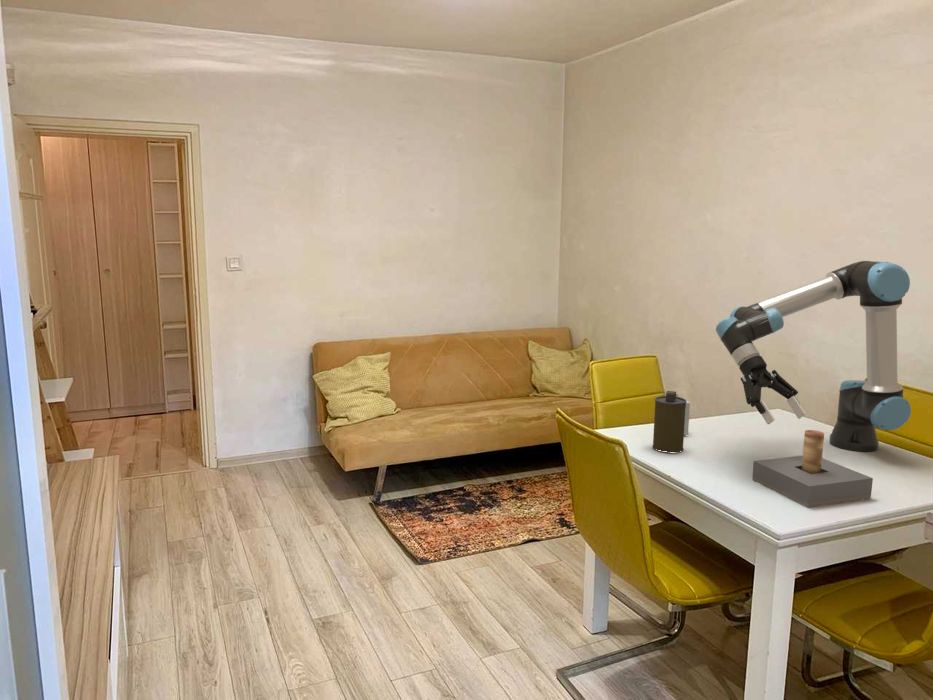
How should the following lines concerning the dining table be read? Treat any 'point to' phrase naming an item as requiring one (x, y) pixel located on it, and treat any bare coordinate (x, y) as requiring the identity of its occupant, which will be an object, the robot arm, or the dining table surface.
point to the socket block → (812, 481)
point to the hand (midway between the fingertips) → (787, 419)
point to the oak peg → (812, 451)
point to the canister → (669, 422)
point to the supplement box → (686, 418)
